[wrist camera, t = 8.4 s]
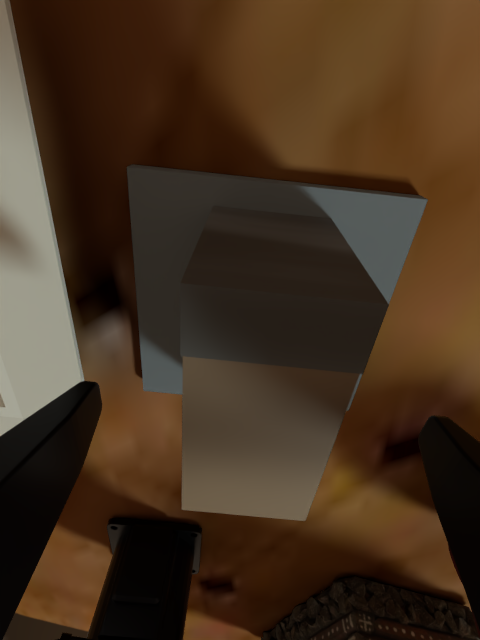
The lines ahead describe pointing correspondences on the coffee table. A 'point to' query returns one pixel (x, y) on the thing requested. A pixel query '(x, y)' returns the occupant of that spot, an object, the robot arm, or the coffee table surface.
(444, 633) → the model building
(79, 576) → the coffee table surface
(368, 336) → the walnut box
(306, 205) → the slate mat
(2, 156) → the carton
